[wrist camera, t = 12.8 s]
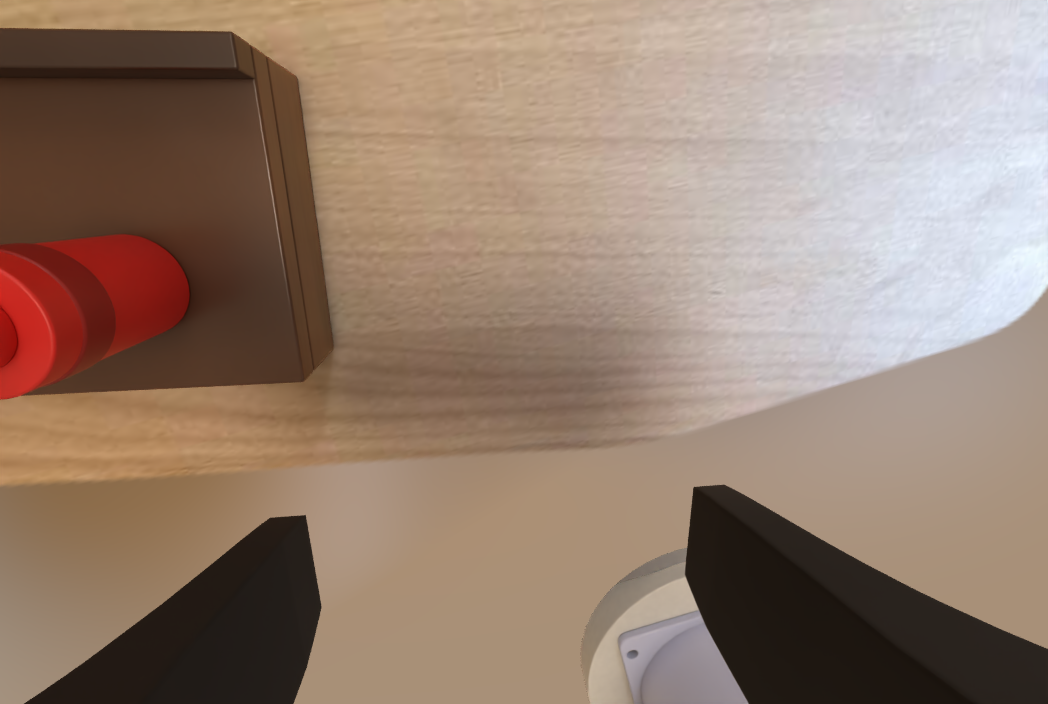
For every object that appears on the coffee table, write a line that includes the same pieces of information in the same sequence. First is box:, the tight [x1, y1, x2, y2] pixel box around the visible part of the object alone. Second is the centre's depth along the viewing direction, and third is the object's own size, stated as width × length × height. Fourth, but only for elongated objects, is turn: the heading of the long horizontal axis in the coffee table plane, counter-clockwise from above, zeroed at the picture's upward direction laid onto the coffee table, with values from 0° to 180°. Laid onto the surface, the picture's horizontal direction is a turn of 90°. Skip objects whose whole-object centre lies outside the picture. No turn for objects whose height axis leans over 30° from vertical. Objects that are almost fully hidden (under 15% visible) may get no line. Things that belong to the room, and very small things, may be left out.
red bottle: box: [0, 234, 190, 400], centre depth 11 cm, size 3×3×6 cm
